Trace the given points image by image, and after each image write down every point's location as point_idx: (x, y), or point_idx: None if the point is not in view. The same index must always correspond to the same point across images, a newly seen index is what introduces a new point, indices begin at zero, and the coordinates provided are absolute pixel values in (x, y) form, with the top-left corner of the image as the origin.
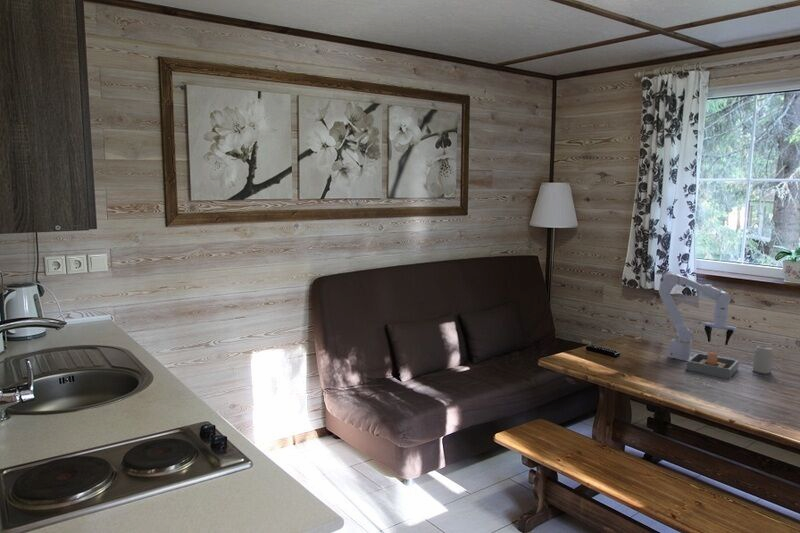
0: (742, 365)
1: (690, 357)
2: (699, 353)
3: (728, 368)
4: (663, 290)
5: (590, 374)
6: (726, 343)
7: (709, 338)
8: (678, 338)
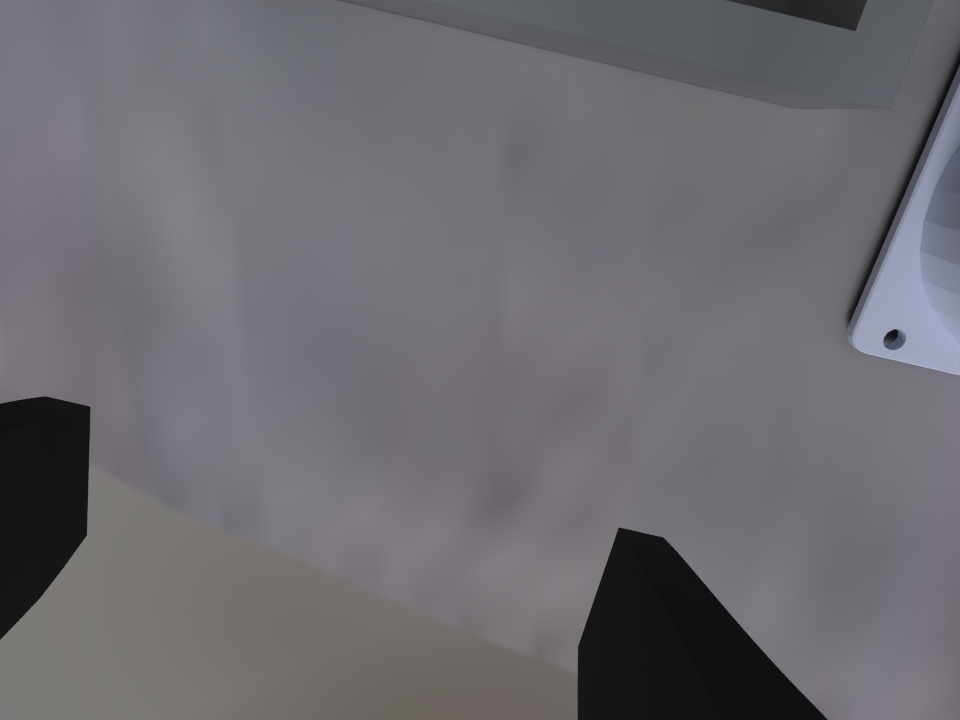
0: (12, 320)
1: (904, 286)
2: (841, 63)
3: None
4: None
5: None
6: (2, 411)
7: (652, 612)
8: None
